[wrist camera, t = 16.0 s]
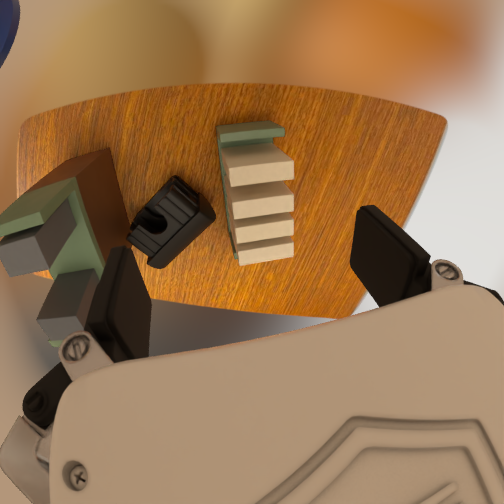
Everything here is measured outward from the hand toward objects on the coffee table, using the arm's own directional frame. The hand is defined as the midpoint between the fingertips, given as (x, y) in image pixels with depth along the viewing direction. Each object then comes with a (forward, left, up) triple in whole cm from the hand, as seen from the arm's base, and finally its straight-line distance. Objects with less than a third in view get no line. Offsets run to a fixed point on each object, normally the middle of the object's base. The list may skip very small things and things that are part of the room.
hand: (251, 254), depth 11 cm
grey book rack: (+6, -17, -27) cm, 33 cm away
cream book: (+3, +4, -26) cm, 27 cm away
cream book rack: (+7, +4, -27) cm, 28 cm away
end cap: (+10, -7, -27) cm, 30 cm away
